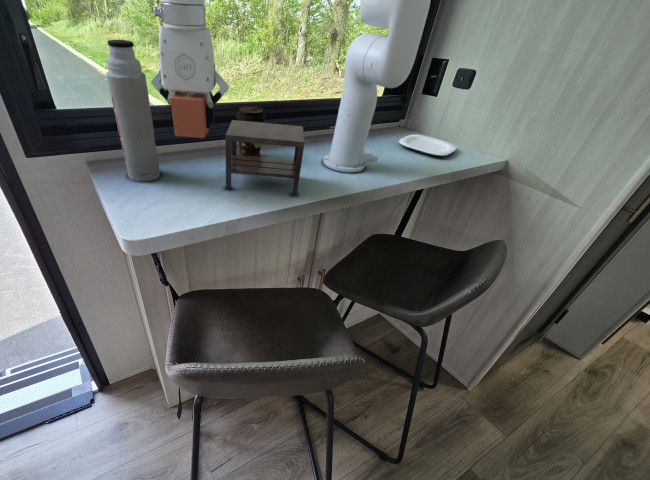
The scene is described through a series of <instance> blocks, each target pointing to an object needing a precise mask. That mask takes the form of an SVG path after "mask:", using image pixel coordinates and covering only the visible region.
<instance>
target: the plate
mask: <svg viewBox="0 0 650 480" xmlns="http://www.w3.org/2000/svg"><path fill="white" fill-rule="evenodd" d="M398 144H399V145H400V146H402V147H405V148H408V149H409V150H411V151H413V152H415V153H418V154H419V153H420V154H423V155H428V156H433V157H447V156H450V155H451V154H453V153H455V152H456V150H457V149H458V147H457V146H456V144H453V143H451V142H449V141H446V140H441V139H439V138H434V137H432V136H427V135H423V134H417V133H416V134H415V133H414V134H409V135H406V136H404V137H402V138H401V139H399V140H398Z"/></svg>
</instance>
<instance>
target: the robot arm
mask: <svg viewBox="0 0 650 480" xmlns="http://www.w3.org/2000/svg"><path fill="white" fill-rule="evenodd" d="M359 4H360V5H359V15H360V19H361V21H362V22H363V23H364V24H366V25H368V26H370V27H373V28H374V27H375V28H381V29H386V30H388V33H387V35H384V34H379V33H371V32H370V33H363V34H360V35H358V36H356V37H355V38H354V39H353V40H352V42H351V43H350V44H349V46H348V48H347V50H346V54H345V58H344V75H343V77H344V78H343V87H342V93H341V97H340V103H339V107H338V113H337V117H336V122H335V127H334V132H333V137H332V142H331V146H330V151H329V153H328V154H327V155H325V156H324V157H323V160H322V162H323V164H324V166H326V167H327V168H329V169H331V170H333V171H337V172H341V173H342V172H343V173H359V172H361V171H364V169H365V166H366V163H372V164H373V163H374V164H377V163H378V161H379V156H378V155H373V153H370V152H369V153H366V151H364V150H365V146H366V143H367V139H368V136H369V132H370V128H371V125H372V120H373V117H374V114H375V111H376V108H377V107H376V106H377V102H378V87H377V86H379V87H383V88H387V89H395V88H398V87H399V86H401V85H402V84H403V83H405V81H406V80H407V79H408V77H409V75H410V74H411V71H412V69H413V66H414V64H415V61H416V58H417V54H418V50H419V47H420V44H421V40H422V37H423V32H424V28H425V25H426V21H427V18H428V14H429V10H430V7H431V6H430V5H431V0H360V3H359ZM153 11H154V12H153V13H154V16H155V17H156V18H157V17H159V18H161V21H162V23H163V24H162V25H159V28H158V47H159V48H158V49H159V66H160V67H159V68H160V69H159V70H158V71H157V72H156V74H155V75H154V76H153V78H152V79H151V80H150V84H151V85H152V86H153V88H154V89H155V90H157V91H158V93H159V94H160V95H161V97H163V99H164V100H165V101H166V102H167V104H168V105H169V108H170V109H169V110H170V118H171V121H173V116H172V108H171V100H170V98H171V97H172V96H173V95H174V94H176V92H189V93H203V96H204V97H205V100H206V103H207V107H206V126H207V128H208V129H209V130H210V129H211V128H212V125H213V124H215V105H217V104H218V102H219V101H220V100H221V99H222V97H223V96H224V95H225V94H226V93H227V92H228V90H229V89H230V85H229V84H228V83H227V82H226V81H225V79H224V78H223V77H222V76H221V74H220V73H219V72H218V70H217V69H216V62H215V55H214V54H215V53H214V45H213V39H212V34H211V29H210V28H208V27H207V18H206V0H160V3H159V5H158V6H154V8H153ZM216 85H218V86H219V89H218V90H217V91H216V92H215V94H213V92H212V91H213V90H214V89H215V87H216Z"/></svg>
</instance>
